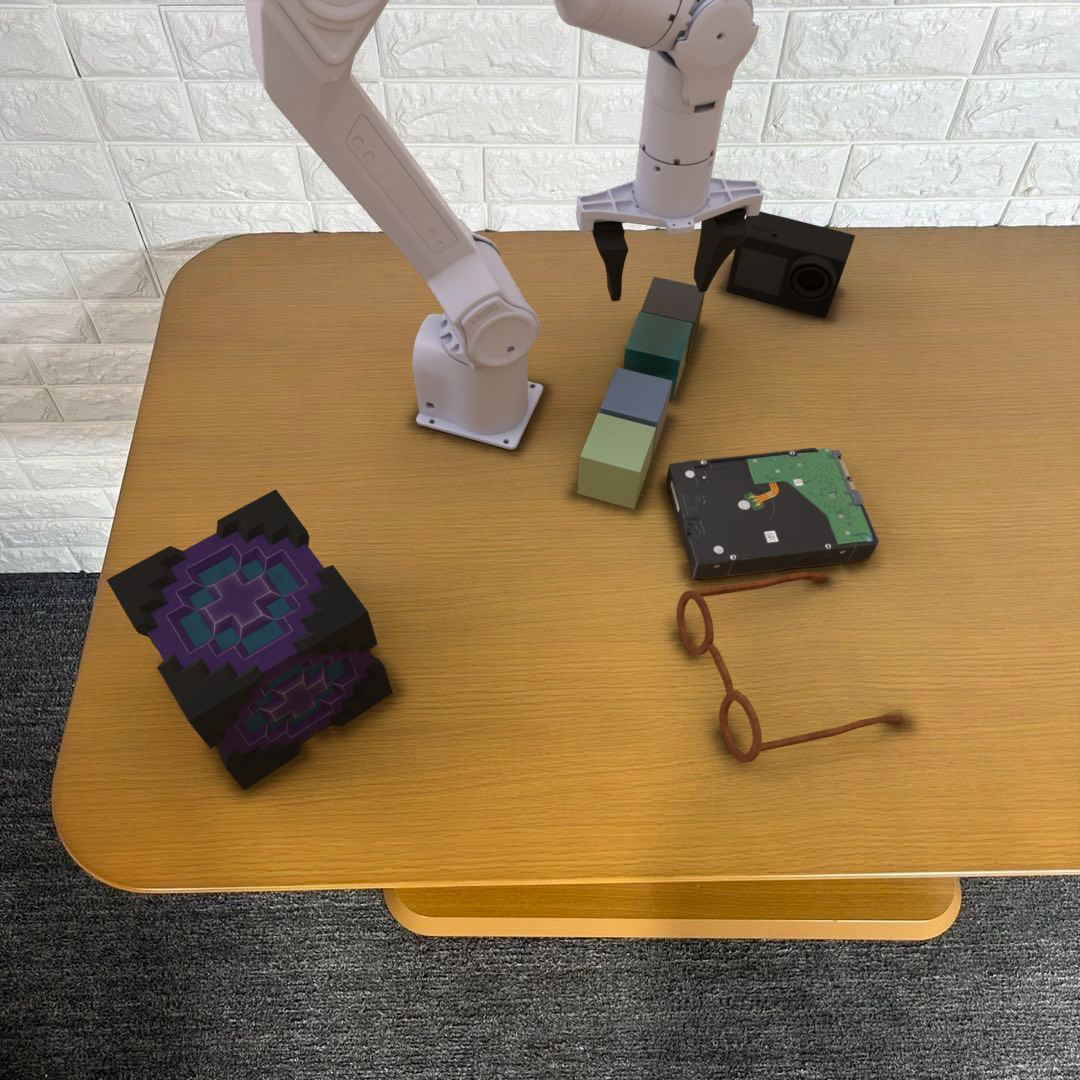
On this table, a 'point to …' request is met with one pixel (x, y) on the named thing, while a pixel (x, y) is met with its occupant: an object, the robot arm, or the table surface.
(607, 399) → the slate block
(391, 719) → the table surface
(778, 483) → the disk drive
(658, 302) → the charcoal block
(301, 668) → the energy cube
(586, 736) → the table surface
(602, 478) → the sage block
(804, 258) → the digital camera
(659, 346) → the teal block
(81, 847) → the table surface
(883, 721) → the glasses
